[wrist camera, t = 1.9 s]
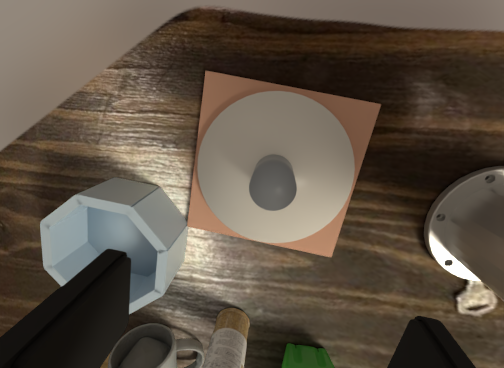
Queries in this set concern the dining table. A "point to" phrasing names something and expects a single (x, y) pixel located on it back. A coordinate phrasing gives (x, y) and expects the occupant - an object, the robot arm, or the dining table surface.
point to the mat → (235, 88)
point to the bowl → (118, 235)
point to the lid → (276, 167)
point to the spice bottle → (228, 340)
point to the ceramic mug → (152, 348)
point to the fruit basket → (305, 357)
